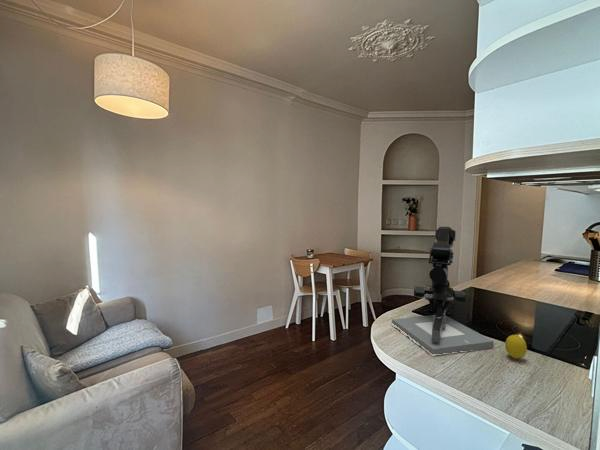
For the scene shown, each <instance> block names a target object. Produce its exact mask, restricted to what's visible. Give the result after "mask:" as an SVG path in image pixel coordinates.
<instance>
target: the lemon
mask: <svg viewBox="0 0 600 450" xmlns="http://www.w3.org/2000/svg"><path fill="white" fill-rule="evenodd" d="M504 347H505V351H506V353H507V354H508V355H509V356H511V358H512V359H514V360H517V359H520V358H523V357H525V356H526V355H527V354H526V353H527V351H528V350H527V349H528V346H527V343H526V341H525V339H524V338H523V337H522V336H520V335H519V334H517V333H515V334H512V335H509V336H508V337H506V340H505V344H504Z"/></svg>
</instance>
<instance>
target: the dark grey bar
mask: <svg viewBox="0 0 600 450" xmlns="http://www.w3.org/2000/svg"><path fill="white" fill-rule="evenodd" d="M432 315H433V325H432V326H433V328H432V341H434V342H438V343H440V338H441V333H442V329H445V328H446V316H447V315H446V316H445V307H443V305H439V307H438V310H437V314H432Z"/></svg>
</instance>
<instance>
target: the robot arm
mask: <svg viewBox="0 0 600 450" xmlns="http://www.w3.org/2000/svg"><path fill="white" fill-rule="evenodd" d="M456 233H457V232H456V230H454V229H453V228H452V227H450V226H439V227H438V228H437V229H435V235H434V240H436V242H434V243H432V244H433V245H432V247H430V250H429V258H428V264H432V265H431V270H430V271H429V279H430V280H431V283H430V284H431V285H429V286H430V287H429V290H428V289H425V286H414V287H413V296H414V297H416V298H424V299H425V300H426V301H428V303H429V305H430V309H431V311H432V312H433V313H432V312H431V313H432V315H434V313H437V310H438V307H439V305H443V307H445V315H446V316H448V315H447V314H450V315H451V313H450V312H449V305H450V304H451V303H452V304H453V303H454V299H455V301H456V302H461V303H466V302H467V295H466V293H465V292H464V291H463V290H455V289H454V288H453V287H451V284H450V281H449V278H448V275H449V274H448V273H449V266H452V264H453V262H454V261H453V260H454V252H453V250H452V247H454V242H455V241H456V236H457V234H456Z"/></svg>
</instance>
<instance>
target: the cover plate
mask: <svg viewBox="0 0 600 450" xmlns="http://www.w3.org/2000/svg"><path fill="white" fill-rule="evenodd" d="M433 315H434V314H432V315H422V316H412V317H403V318H401V317H400V318H392V319H391V324H392V323H393V324H394V325H396V326H397V327H399V328H400V329H401V330H402V331H404V332H405V333H406V334H407V335H409V336H410V337H411V338H412V339H414V340H415V341H416V342H418V343H419V344H420V345H421V346H423V347H424V348H425V349H426V350H428V351H429V352H430V353H432V354H443V353H452V352H460V351H470V350H477V351H482V350H481V349H484V350H492V349H494V340H492V339H490V338H488V337H487V336H484V335H483V334H481V333H479V332H478V331H476V330H474V329H472V328H470V327H468V326H466V325H464V324H462V323H460V322H459V321H457V320H455V319H453V318H452V317H449V316H448V315H445V316H446V328H445V329H442V333H441V338H440V343H438V342H434V341H432V328H433V326H432V325H433ZM470 352H471V351H470Z"/></svg>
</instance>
